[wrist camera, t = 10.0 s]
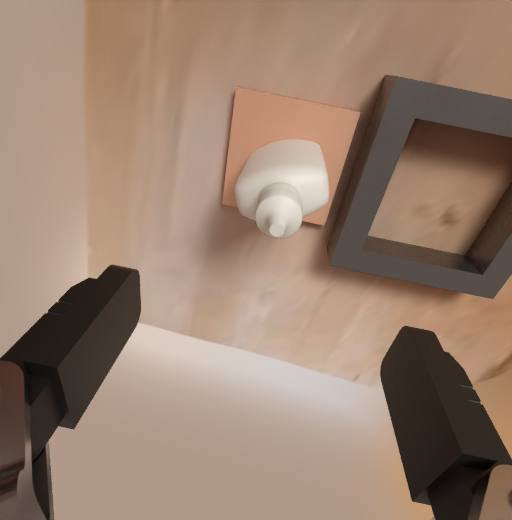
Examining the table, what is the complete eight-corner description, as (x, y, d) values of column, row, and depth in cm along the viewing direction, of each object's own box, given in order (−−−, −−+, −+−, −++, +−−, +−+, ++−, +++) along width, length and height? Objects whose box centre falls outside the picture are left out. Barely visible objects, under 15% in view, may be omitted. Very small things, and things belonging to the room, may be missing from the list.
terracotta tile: (237, 86, 23) (235, 87, 22) (358, 111, 23) (360, 112, 22) (223, 201, 28) (221, 204, 27) (324, 221, 28) (324, 225, 27)
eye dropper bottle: (307, 198, 26) (314, 284, 16) (243, 175, 26) (208, 249, 16) (330, 146, 24) (355, 208, 14) (259, 120, 23) (231, 164, 13)
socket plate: (385, 74, 22) (397, 76, 19) (586, 115, 22) (624, 122, 19) (326, 247, 29) (329, 265, 27) (476, 278, 29) (493, 299, 27)
